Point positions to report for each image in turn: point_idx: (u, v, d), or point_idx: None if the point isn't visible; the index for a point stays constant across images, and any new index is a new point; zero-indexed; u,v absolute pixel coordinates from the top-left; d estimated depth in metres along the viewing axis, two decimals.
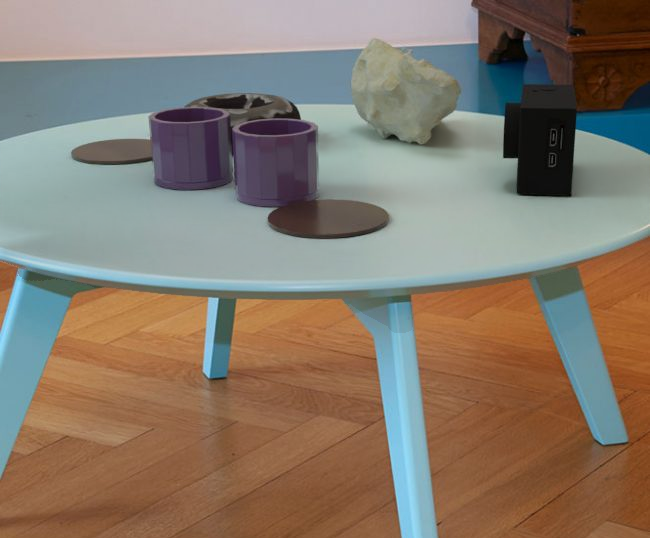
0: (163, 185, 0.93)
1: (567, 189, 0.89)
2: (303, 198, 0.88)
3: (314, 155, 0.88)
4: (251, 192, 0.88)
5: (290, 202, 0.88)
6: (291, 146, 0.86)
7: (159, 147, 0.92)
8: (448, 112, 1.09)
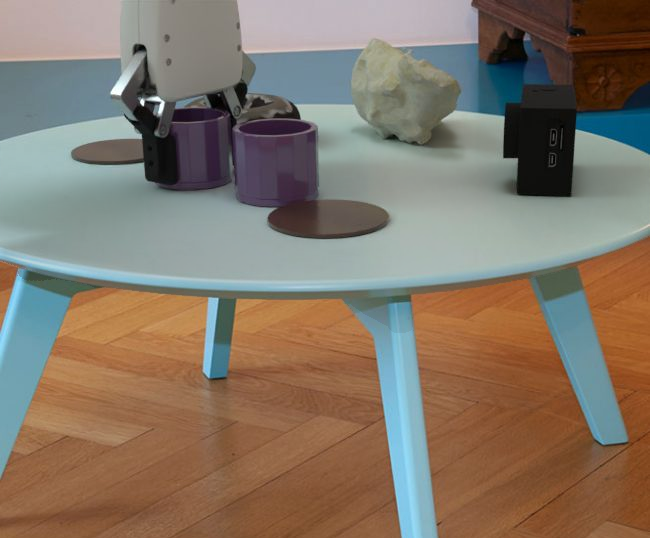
0: (163, 185, 0.93)
1: (567, 189, 0.89)
2: (303, 198, 0.88)
3: (314, 155, 0.88)
4: (251, 192, 0.88)
5: (290, 202, 0.88)
6: (291, 146, 0.86)
7: None
8: (448, 112, 1.09)
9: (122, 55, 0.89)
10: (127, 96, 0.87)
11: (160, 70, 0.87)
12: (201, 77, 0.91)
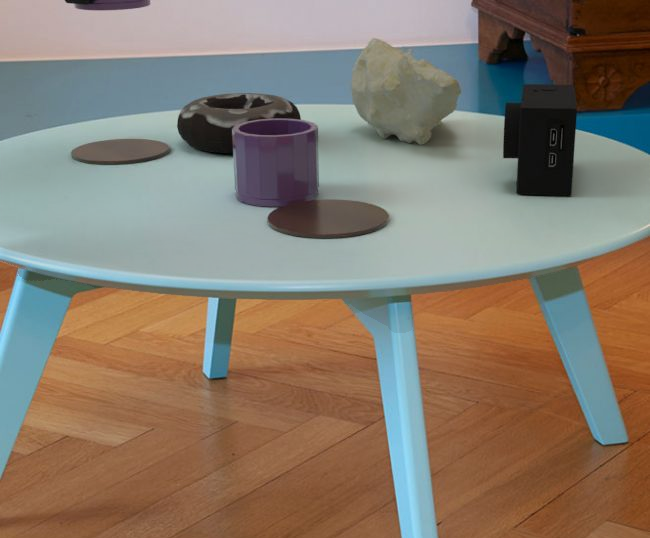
0: (82, 7, 0.98)
1: (567, 189, 0.89)
2: (303, 198, 0.88)
3: (314, 155, 0.88)
4: (251, 192, 0.88)
5: (290, 202, 0.88)
6: (291, 146, 0.86)
7: None
8: (448, 112, 1.09)
9: None
10: None
11: None
12: None
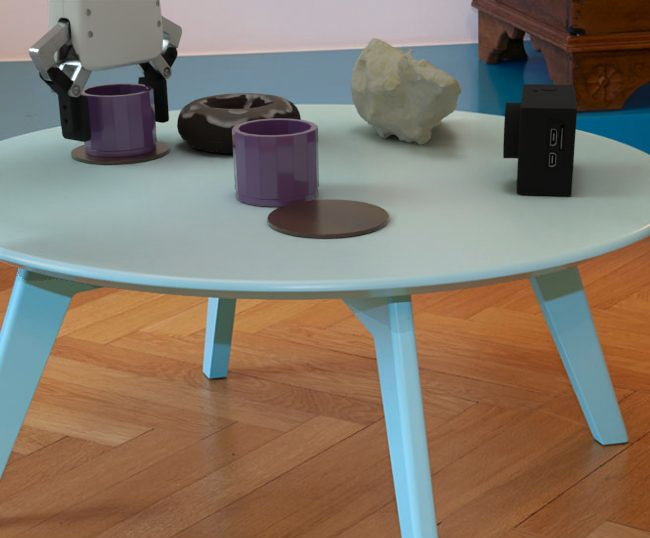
0: (92, 153, 1.03)
1: (567, 189, 0.89)
2: (303, 198, 0.88)
3: (314, 155, 0.88)
4: (251, 192, 0.88)
5: (290, 202, 0.88)
6: (291, 146, 0.86)
7: None
8: (448, 112, 1.09)
9: (49, 28, 0.98)
10: (44, 53, 0.95)
11: (83, 41, 0.97)
12: (122, 49, 1.00)
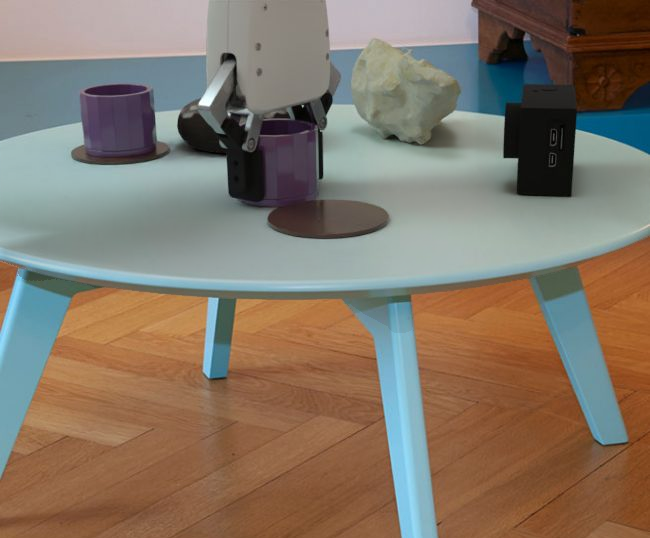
0: (92, 153, 1.03)
1: (567, 189, 0.89)
2: (303, 198, 0.88)
3: (314, 155, 0.88)
4: None
5: (290, 202, 0.88)
6: (291, 146, 0.86)
7: (88, 118, 1.02)
8: (448, 112, 1.09)
9: (208, 64, 0.84)
10: (216, 108, 0.82)
11: (251, 81, 0.82)
12: (290, 88, 0.86)
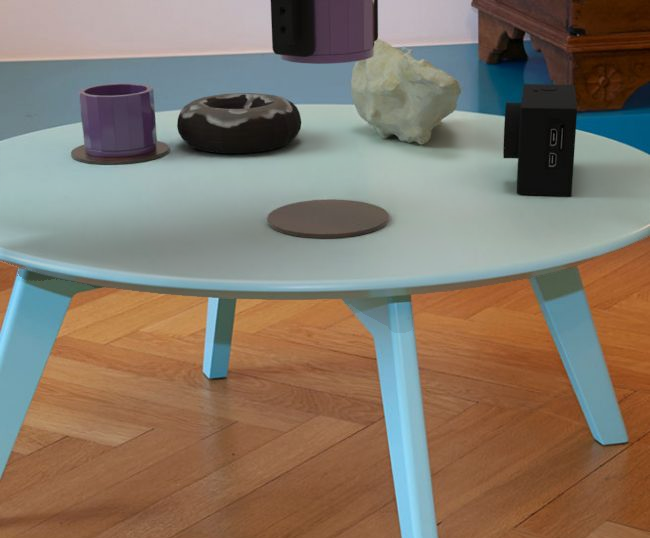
0: (92, 153, 1.03)
1: (567, 189, 0.89)
2: (358, 55, 0.77)
3: (370, 5, 0.77)
4: None
5: (343, 58, 0.77)
6: None
7: (88, 118, 1.02)
8: (448, 112, 1.09)
9: None
10: None
11: None
12: None
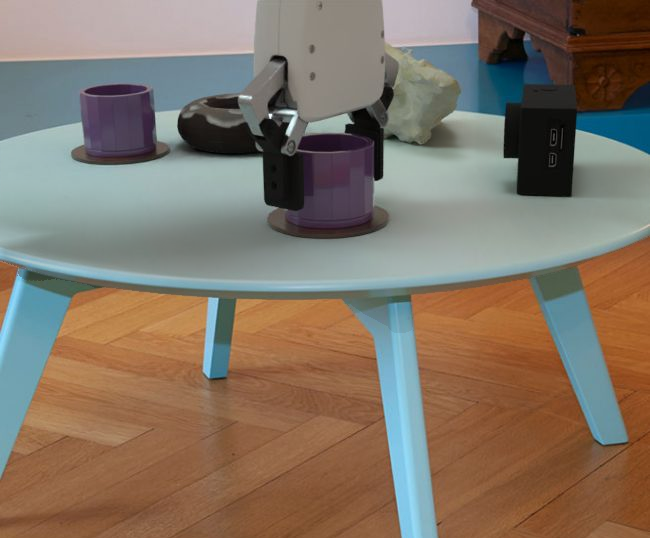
0: (92, 153, 1.03)
1: (567, 189, 0.89)
2: (359, 219, 0.82)
3: (371, 172, 0.81)
4: (303, 213, 0.81)
5: (345, 224, 0.81)
6: (347, 163, 0.79)
7: (88, 118, 1.02)
8: (448, 112, 1.09)
9: (255, 67, 0.77)
10: (258, 102, 0.74)
11: (303, 86, 0.75)
12: (344, 93, 0.79)
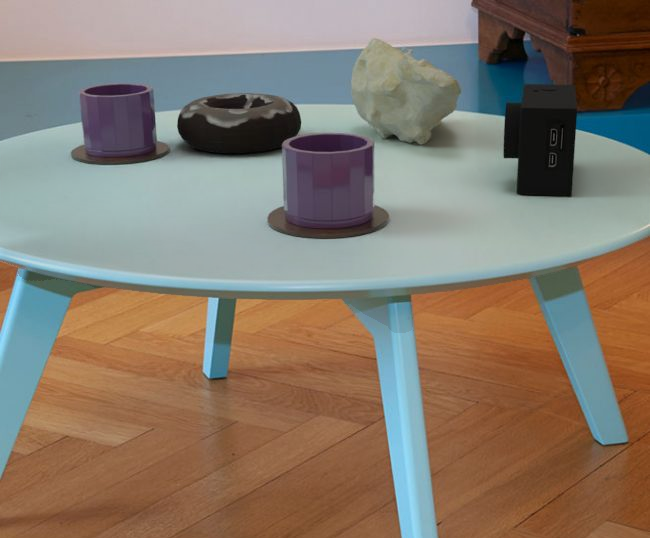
0: (92, 153, 1.03)
1: (567, 189, 0.89)
2: (359, 219, 0.82)
3: (371, 172, 0.81)
4: (303, 213, 0.81)
5: (345, 224, 0.81)
6: (347, 163, 0.79)
7: (88, 118, 1.02)
8: (448, 112, 1.09)
9: None
10: None
11: None
12: None
